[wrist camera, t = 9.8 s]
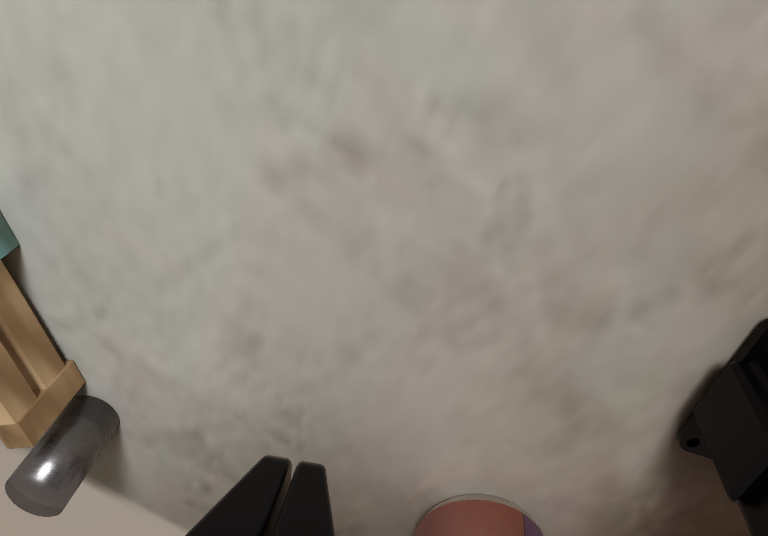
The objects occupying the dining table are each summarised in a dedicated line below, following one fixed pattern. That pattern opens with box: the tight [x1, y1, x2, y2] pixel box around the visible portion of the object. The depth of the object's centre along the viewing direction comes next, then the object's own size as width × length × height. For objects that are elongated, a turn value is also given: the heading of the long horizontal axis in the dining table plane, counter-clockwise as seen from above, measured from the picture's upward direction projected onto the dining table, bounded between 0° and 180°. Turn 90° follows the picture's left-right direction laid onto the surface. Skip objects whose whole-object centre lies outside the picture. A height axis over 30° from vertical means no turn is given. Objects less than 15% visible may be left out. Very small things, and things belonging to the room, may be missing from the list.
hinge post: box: [5, 396, 119, 517], centre depth 27 cm, size 2×2×4 cm
